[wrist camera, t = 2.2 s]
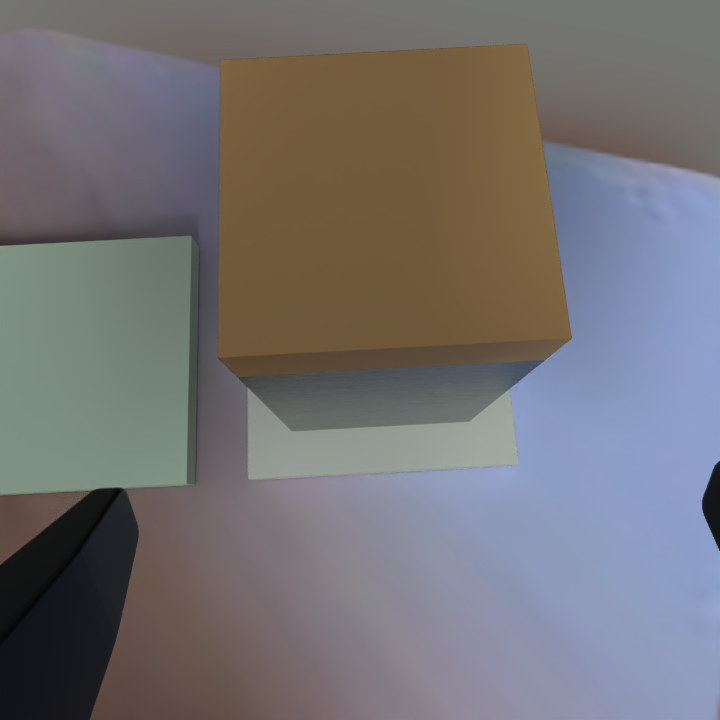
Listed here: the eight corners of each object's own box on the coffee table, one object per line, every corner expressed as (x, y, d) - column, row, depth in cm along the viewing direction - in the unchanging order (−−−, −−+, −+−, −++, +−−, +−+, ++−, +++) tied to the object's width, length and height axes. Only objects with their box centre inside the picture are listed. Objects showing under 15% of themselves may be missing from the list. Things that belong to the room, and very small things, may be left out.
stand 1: (195, 484, 20) (186, 483, 19) (-64, 498, 20) (-85, 498, 19) (199, 247, 22) (191, 235, 21) (-34, 260, 22) (-52, 248, 21)
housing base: (468, 421, 19) (544, 360, 11) (292, 431, 19) (237, 376, 11) (452, 258, 21) (508, 96, 13) (287, 267, 21) (237, 111, 13)
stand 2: (511, 465, 20) (518, 464, 19) (254, 480, 20) (247, 478, 19) (483, 231, 22) (489, 218, 21) (251, 243, 22) (246, 231, 21)
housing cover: (523, 378, 13) (571, 338, 10) (252, 392, 13) (218, 358, 10) (492, 141, 14) (527, 43, 11) (251, 154, 14) (219, 59, 11)
